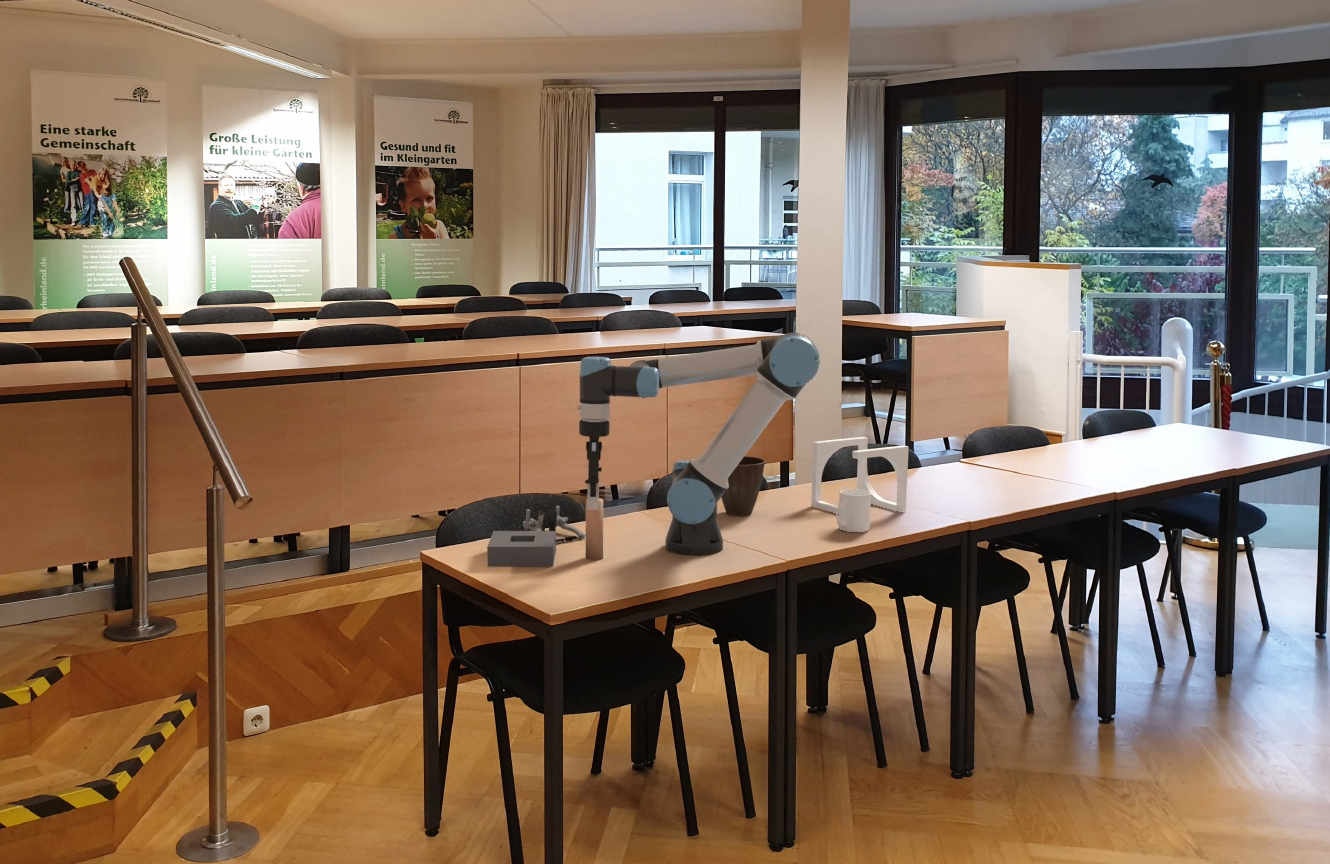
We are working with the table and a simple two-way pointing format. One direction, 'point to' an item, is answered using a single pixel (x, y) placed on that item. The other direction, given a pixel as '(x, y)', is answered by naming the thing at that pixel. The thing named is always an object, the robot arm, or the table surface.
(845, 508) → the mug
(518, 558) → the socket block
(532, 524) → the bike brake
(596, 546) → the peg
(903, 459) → the white piece
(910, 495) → the table surface
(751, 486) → the plant pot
